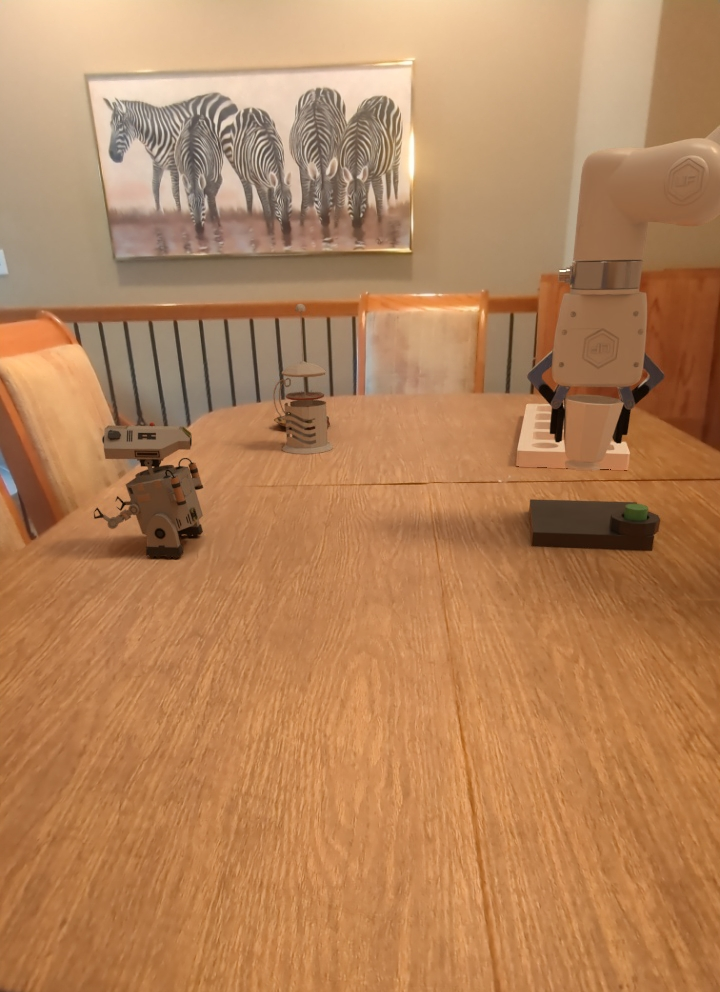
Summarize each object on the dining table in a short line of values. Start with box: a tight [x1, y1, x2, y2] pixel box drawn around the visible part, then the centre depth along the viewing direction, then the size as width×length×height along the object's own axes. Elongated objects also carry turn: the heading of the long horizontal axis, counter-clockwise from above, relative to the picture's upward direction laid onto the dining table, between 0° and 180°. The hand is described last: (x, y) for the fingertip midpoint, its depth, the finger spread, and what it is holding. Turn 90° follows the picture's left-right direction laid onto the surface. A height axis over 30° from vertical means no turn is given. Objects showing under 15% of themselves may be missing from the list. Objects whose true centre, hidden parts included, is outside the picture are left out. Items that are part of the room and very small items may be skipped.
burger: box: [273, 390, 331, 430], centre depth 159 cm, size 12×12×8 cm
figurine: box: [93, 422, 204, 560], centre depth 92 cm, size 9×12×15 cm
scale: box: [528, 498, 661, 552], centre depth 96 cm, size 15×14×4 cm
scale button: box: [624, 503, 649, 521], centre depth 90 cm, size 3×3×2 cm
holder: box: [515, 403, 631, 471], centre depth 144 cm, size 45×18×3 cm, turn 167°
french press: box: [272, 303, 334, 455], centre depth 138 cm, size 10×12×25 cm
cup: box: [563, 393, 624, 472], centre depth 92 cm, size 7×10×8 cm
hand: (587, 439), depth 93 cm, fingers closed on cup, 6 cm apart
